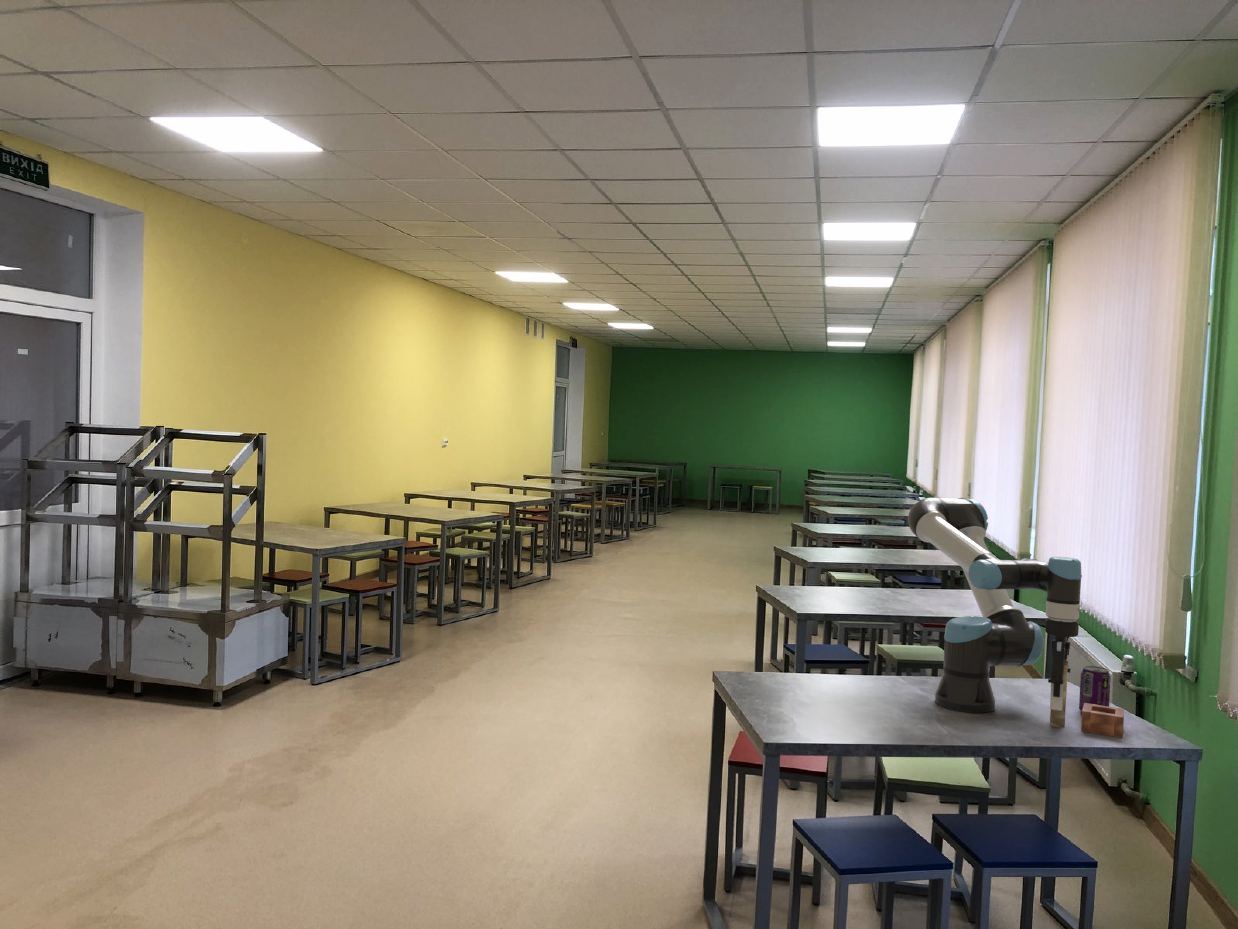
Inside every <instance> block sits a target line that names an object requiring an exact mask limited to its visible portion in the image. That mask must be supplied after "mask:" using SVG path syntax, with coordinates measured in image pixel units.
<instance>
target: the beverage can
mask: <svg viewBox="0 0 1238 929" xmlns="http://www.w3.org/2000/svg"><path fill="white" fill-rule="evenodd" d="M1109 672H1110V670H1109V669H1108V668H1107V667H1102V666H1096V665H1095V666H1094V665H1085V666H1082V671H1081V672H1080V679H1079V680H1080V682H1079V684H1080V685H1079V698H1078V699H1079V701H1078V702H1079V703H1078V709H1079V710H1080V711H1081V712H1082V710H1083V706H1084V703H1089V704H1096V705H1102V706H1109V707H1110V700H1111V697H1110V696H1111V675H1110V673H1109Z"/></svg>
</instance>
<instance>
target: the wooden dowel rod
mask: <svg viewBox="0 0 1238 929" xmlns="http://www.w3.org/2000/svg"><path fill="white" fill-rule="evenodd" d="M1068 668H1069V655H1068V656H1067V660H1066V661H1065V664H1064V674H1063V705H1062V711H1060V710H1054V709H1050V712H1049V714H1050V716H1049V725H1050V726H1051V727H1054V728H1059V729H1061V728H1065V726H1066V725H1065V724H1066V711H1067V710H1066V708H1067V695H1066V690H1068V674H1067V673H1068V672H1067V669H1068ZM1056 678H1057V677H1056Z"/></svg>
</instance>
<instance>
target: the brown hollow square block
mask: <svg viewBox="0 0 1238 929" xmlns="http://www.w3.org/2000/svg"><path fill="white" fill-rule="evenodd" d="M1124 723H1125V708H1121V707H1115V706H1114V707H1113V706H1110V705H1109V706H1102V705H1096V704H1089V703H1084V706H1083V710H1082V711H1081V725H1080V726H1081V728H1080V729H1081V730H1080V731H1081V732H1085V733H1090V734H1097V735H1103V736H1110V737H1114V736H1116V738H1121V739H1123V736H1124V725H1125V724H1124Z"/></svg>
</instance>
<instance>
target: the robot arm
mask: <svg viewBox="0 0 1238 929" xmlns="http://www.w3.org/2000/svg"><path fill="white" fill-rule="evenodd" d="M988 519H989V517H988V513H987V511H986V508H985V507H984V506H983V505H982V504H981V503H980V502H979V501H978V500H975V499H972V498H966V497H965V498H964V497H958V498H951V497H950V498H949V497H948V498H946V497H944V498H943V497H927V498H923V499H920V500H919V501H917V502H916V503H915V504H913V506H912V507H911V509H910V510H909V512H908V516H907V523H908V527H909V529H910V531H911V532H912V533H913V535H914V536H915V537H917V538H918V539H919V540H920V541H923V542H924V543H930V544H931V545H932V546H934V547H935V548H936V549H938V550H939V551H940V552H942V553H943V554H944V555H945V556H947V557H948V558H949V559H951V561H953V562H955V563H956V564H957V565H958V566H960V567H961V568H962V571H963V573H964V575H965V577H966V581H967V582H968V585H969V588H970V590H971V592H972V594H973V597H974V598H975V601H976V604H977V605H978V609H979V611H980V613H981V616H979V615H978V616H976V615H975V616H973V615H972V616H971V615H965V616H957V617H953V618H951V619H949V620H948V621H947V622H946V624H945V628H944V630H945V631H944V635H943V639H944V646H943V648H944V649H943V669H942V672H943V673H942V675H941V676H942V677H941V678H940V681H939V683H938V686H937V689H936V691H935V693H934V694H935V695H934V702H935V703H936V704H937V705H938V706H940V707H943V708H946V709H949V710H954V711H957V712H958V711H959V712H965V713H974V714H975V713H977V714H978V713H981V714H982V713H990V712H994V710H995V709H996V699H995V695H994V691H993V689H992V685H991V681H990V670H991V669H990V667H1007V666H1008V667H1012V666H1013V667H1014V666H1015V667H1022V666H1030V665H1032V664H1035V663H1036V662H1037V661H1039V659H1040V657H1041V656H1042V654H1043V649H1044V644H1045V643H1044V636H1043V631H1042V630H1041V627H1040V626H1039V625H1038V624H1037V623H1036V622H1033V621H1027V619H1026V618H1025V615H1024V612H1023V611H1022V610H1021V609H1019V608H1016V607H1014V605H1013V602H1012V600H1011V598H1010V596H1009V593H1008V591H1007V590H1035V591H1036V590H1037V591H1041V592H1042V591H1043V592H1046V600H1045V602H1046V603H1045V615H1046V617H1047V618H1046V619H1045V627H1044V628H1045V633H1046V634H1048V635H1050V636H1055V639H1053V640H1052V642H1051V649H1052V652H1051V658H1052V665H1051V677H1050V678H1048V679H1047V682H1048V683H1049V684H1050V697H1049V698H1050V699H1049V701H1050V702H1049V703H1050V704H1049V709H1050V710H1051V709H1054V710H1060V711H1062V705H1063V674H1064V664H1065V661H1066V660H1067V656H1068V657H1069V656H1070V649H1071V641H1069V638H1076V637H1078V636H1079V628H1080V627H1079V626H1080V622H1079V621H1078V620H1079V619H1080V612H1082V611H1083V608H1082V607H1080V603H1081V589H1082V588H1081V587H1082V578H1083V575H1082V562H1081V560H1080V559H1079V558H1075V557H1067V556H1051V557H1050V558H1049V559H1048V562H1046V561H1044V560H1043V561H1042V560H1039V559H1036V558H1021V559H1020V560H1019V559H1018V560H1017V559H1016V560H1015V559H1014V560H1013V559H1012V560H1011V559H1009V560H1007V559H999V558H997V557H996V556H995V555H993V554H992V553H990V552H989V549H988V547H987V544H986V542H985V540H984V539H985V537H986V533H987V531H988V526H989V522H988ZM1068 673H1069V674H1070V673H1071V668H1070V667H1068V669H1067V675H1068ZM1056 677H1057V678H1056ZM1067 690H1068V689H1067ZM1067 690H1066V696H1067Z"/></svg>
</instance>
